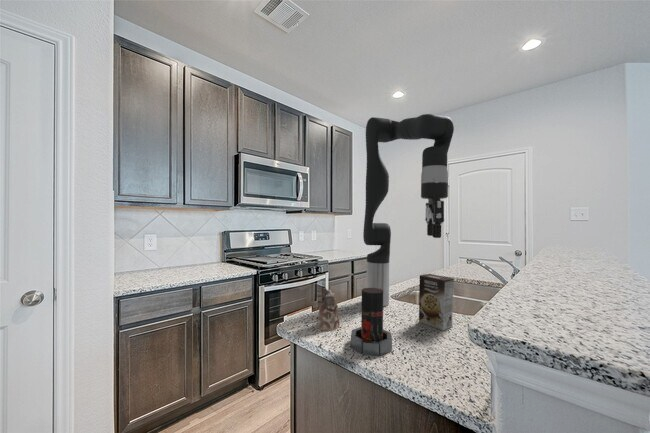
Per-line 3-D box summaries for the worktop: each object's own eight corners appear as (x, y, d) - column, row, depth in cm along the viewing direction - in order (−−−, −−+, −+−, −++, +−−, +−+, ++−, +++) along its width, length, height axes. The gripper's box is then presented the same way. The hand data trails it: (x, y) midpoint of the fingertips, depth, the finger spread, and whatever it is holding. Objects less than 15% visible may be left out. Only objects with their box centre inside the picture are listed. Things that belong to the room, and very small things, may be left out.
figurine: (322, 332, 87) (323, 293, 87) (313, 324, 93) (314, 288, 93) (343, 328, 90) (343, 291, 90) (332, 320, 96) (333, 285, 96)
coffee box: (417, 322, 95) (418, 275, 95) (428, 318, 99) (428, 272, 99) (443, 331, 88) (444, 280, 88) (453, 326, 92) (454, 277, 92)
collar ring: (352, 335, 84) (353, 325, 84) (390, 338, 82) (390, 328, 82) (349, 352, 74) (349, 341, 74) (392, 357, 72) (392, 345, 72)
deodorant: (386, 347, 76) (387, 292, 76) (366, 350, 74) (367, 293, 74) (376, 338, 82) (377, 287, 82) (357, 340, 80) (358, 288, 80)
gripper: (417, 185, 91) (417, 234, 91) (425, 179, 77) (424, 238, 77) (442, 185, 90) (441, 235, 90) (454, 179, 76) (453, 238, 76)
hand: (433, 236), depth 84 cm, fingers open, 8 cm apart
